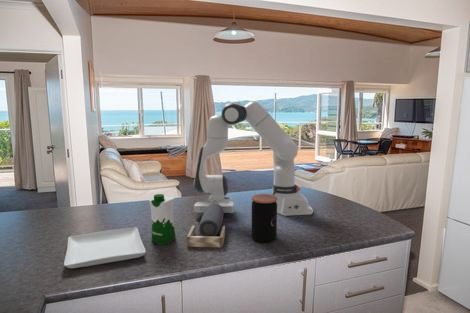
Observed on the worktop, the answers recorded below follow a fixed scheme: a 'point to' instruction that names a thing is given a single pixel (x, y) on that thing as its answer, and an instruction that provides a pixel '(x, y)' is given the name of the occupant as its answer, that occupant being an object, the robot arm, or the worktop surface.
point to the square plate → (103, 247)
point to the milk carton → (162, 219)
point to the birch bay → (205, 239)
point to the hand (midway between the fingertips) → (212, 212)
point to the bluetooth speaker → (211, 220)
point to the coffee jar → (264, 218)
